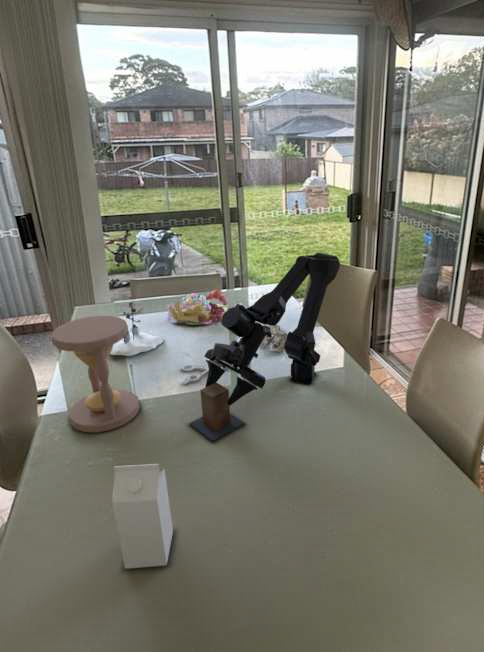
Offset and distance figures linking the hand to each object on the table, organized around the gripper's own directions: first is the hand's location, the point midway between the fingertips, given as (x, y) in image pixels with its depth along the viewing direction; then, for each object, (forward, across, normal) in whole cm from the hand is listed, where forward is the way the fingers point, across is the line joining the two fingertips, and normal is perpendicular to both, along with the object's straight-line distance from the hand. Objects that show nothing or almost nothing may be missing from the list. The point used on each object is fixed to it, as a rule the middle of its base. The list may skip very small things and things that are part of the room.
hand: (217, 397), depth 111 cm
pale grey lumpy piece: (-26, -27, +38) cm, 53 cm away
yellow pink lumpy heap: (-22, -66, +34) cm, 78 cm away
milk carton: (+28, +21, -17) cm, 39 cm away
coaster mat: (+6, 0, +5) cm, 8 cm away
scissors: (-5, -24, +17) cm, 30 cm away
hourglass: (+19, -26, -7) cm, 33 cm away
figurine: (+1, -58, +10) cm, 58 cm away
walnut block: (+6, 0, +5) cm, 7 cm away
